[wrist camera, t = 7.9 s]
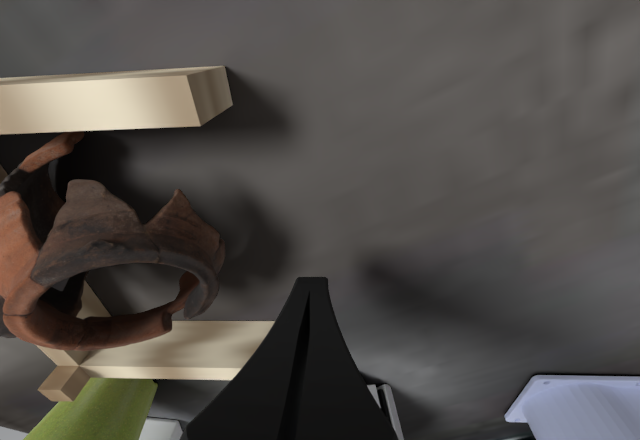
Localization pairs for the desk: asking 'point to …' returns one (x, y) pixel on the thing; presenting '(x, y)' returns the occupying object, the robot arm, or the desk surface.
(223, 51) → the desk surface
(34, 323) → the pottery mug
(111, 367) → the cradle
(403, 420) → the desk surface
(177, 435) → the medicine bottle
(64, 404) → the plant pot
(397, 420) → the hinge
